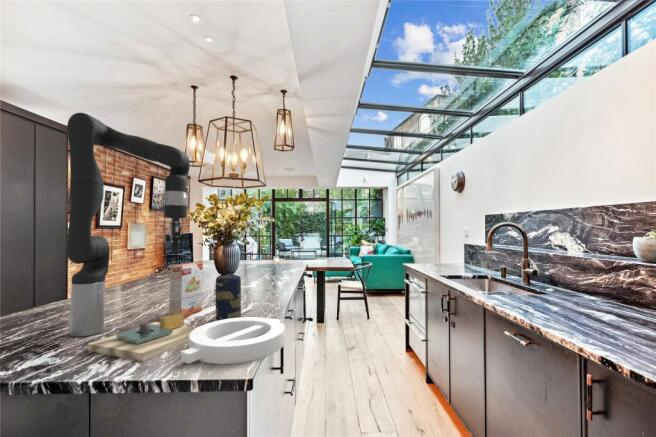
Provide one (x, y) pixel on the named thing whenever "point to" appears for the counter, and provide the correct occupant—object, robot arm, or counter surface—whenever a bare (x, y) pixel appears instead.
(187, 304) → the cracker box
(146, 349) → the base board
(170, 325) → the t-shaped piece
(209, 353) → the white circle with bar
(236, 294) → the canister
